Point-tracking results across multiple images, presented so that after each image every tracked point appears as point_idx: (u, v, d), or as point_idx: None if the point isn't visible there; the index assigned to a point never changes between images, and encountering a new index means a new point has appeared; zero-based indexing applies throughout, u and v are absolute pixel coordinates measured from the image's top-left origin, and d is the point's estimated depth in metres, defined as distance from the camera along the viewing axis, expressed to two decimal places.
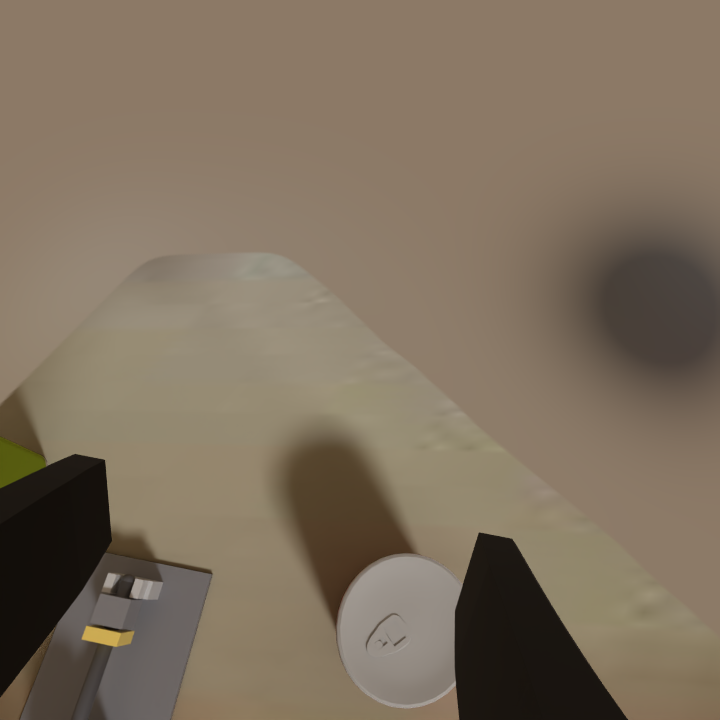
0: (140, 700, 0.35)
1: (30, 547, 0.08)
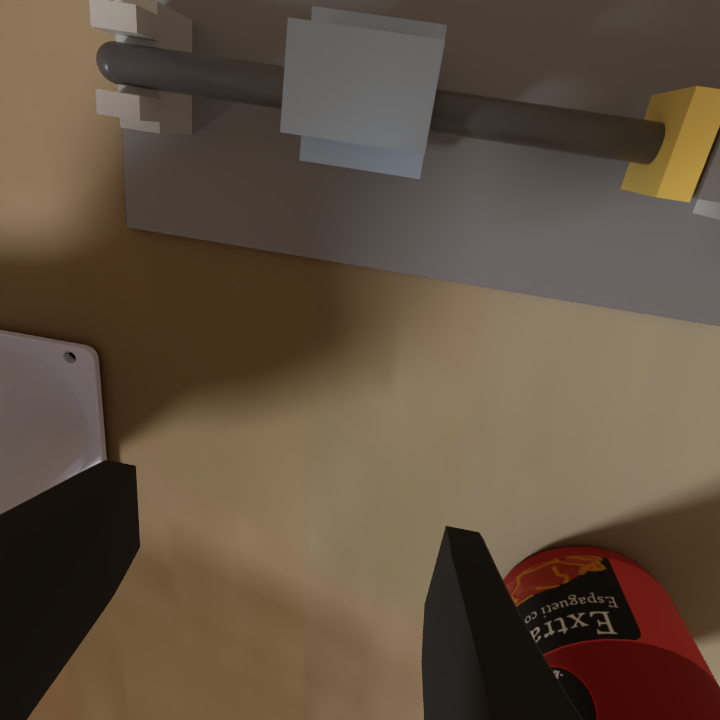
0: (485, 214, 0.16)
1: (67, 555, 0.08)
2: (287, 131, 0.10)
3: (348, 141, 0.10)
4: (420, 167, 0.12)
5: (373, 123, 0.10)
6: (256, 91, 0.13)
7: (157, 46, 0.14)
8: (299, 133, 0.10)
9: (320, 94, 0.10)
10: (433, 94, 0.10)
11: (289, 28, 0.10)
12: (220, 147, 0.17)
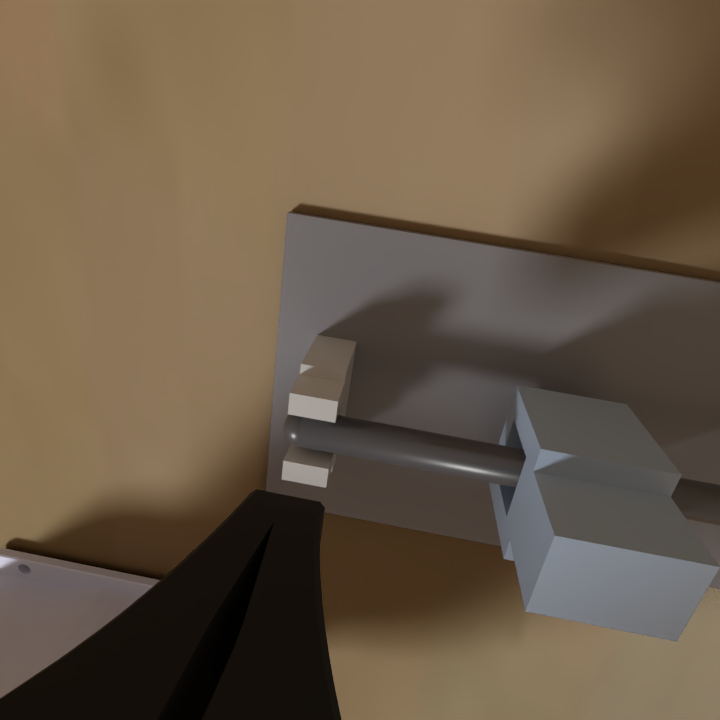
0: None
1: (250, 592, 0.08)
2: (533, 612, 0.10)
3: (596, 623, 0.10)
4: None
5: (627, 615, 0.10)
6: (451, 472, 0.13)
7: (340, 405, 0.14)
8: (546, 614, 0.10)
9: (575, 590, 0.10)
10: (696, 601, 0.10)
11: (554, 543, 0.09)
12: None
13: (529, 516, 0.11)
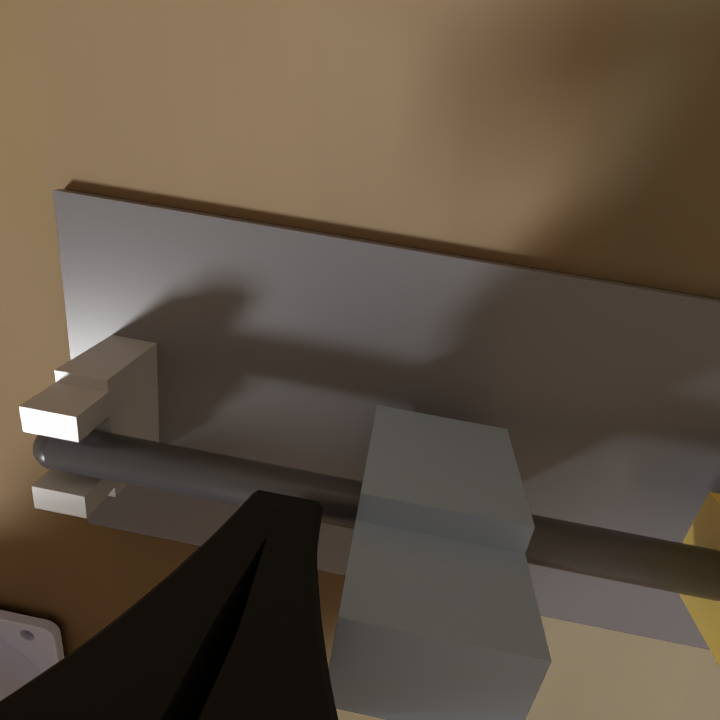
0: None
1: None
2: None
3: None
4: None
5: (446, 714, 0.08)
6: (227, 501, 0.11)
7: (109, 419, 0.11)
8: (347, 710, 0.08)
9: (377, 683, 0.08)
10: (529, 700, 0.07)
11: (339, 625, 0.07)
12: None
13: None
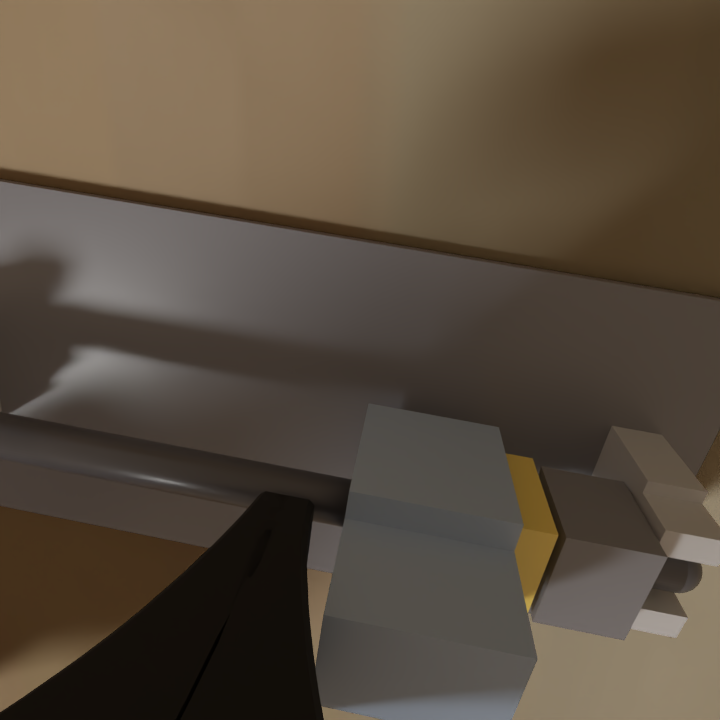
0: None
1: None
2: None
3: (399, 719, 0.08)
4: None
5: (434, 712, 0.08)
6: (16, 460, 0.11)
7: None
8: (335, 708, 0.08)
9: (364, 681, 0.08)
10: (516, 698, 0.07)
11: (325, 623, 0.07)
12: None
13: None
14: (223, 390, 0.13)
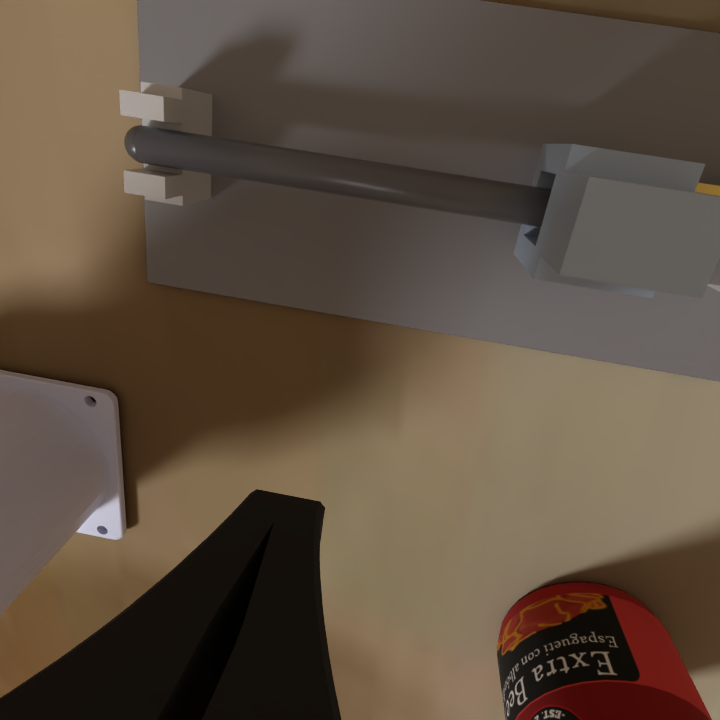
0: (491, 275, 0.17)
1: (250, 592, 0.08)
2: (567, 274, 0.11)
3: (626, 284, 0.11)
4: None
5: (655, 270, 0.11)
6: (276, 174, 0.14)
7: (181, 127, 0.14)
8: (579, 276, 0.11)
9: (607, 243, 0.10)
10: None
11: (589, 186, 0.10)
12: (238, 210, 0.17)
13: (561, 206, 0.12)
14: (407, 160, 0.16)
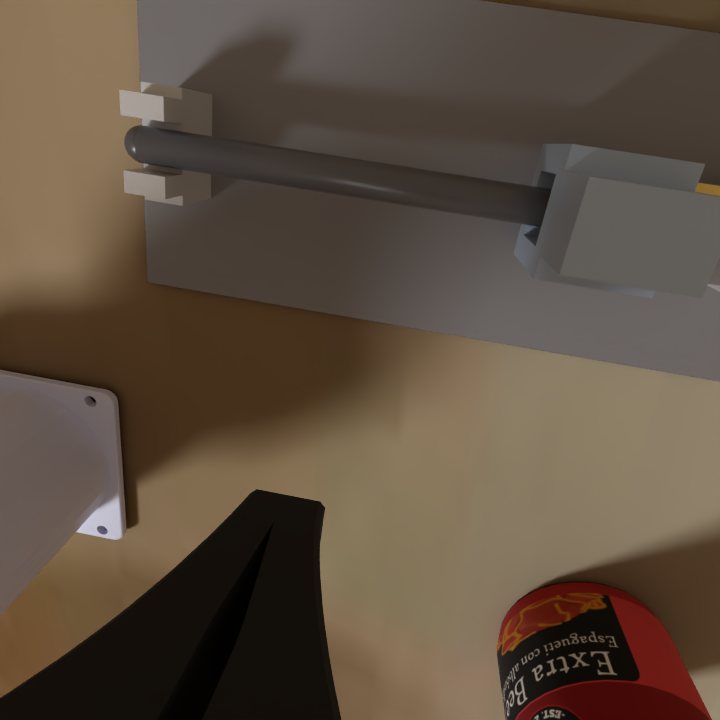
0: (491, 275, 0.17)
1: (250, 592, 0.08)
2: (567, 274, 0.11)
3: (626, 284, 0.11)
4: None
5: (655, 270, 0.11)
6: (276, 174, 0.14)
7: (181, 127, 0.14)
8: (579, 276, 0.11)
9: (607, 243, 0.10)
10: None
11: (589, 186, 0.10)
12: (238, 210, 0.17)
13: (561, 206, 0.12)
14: (407, 160, 0.16)
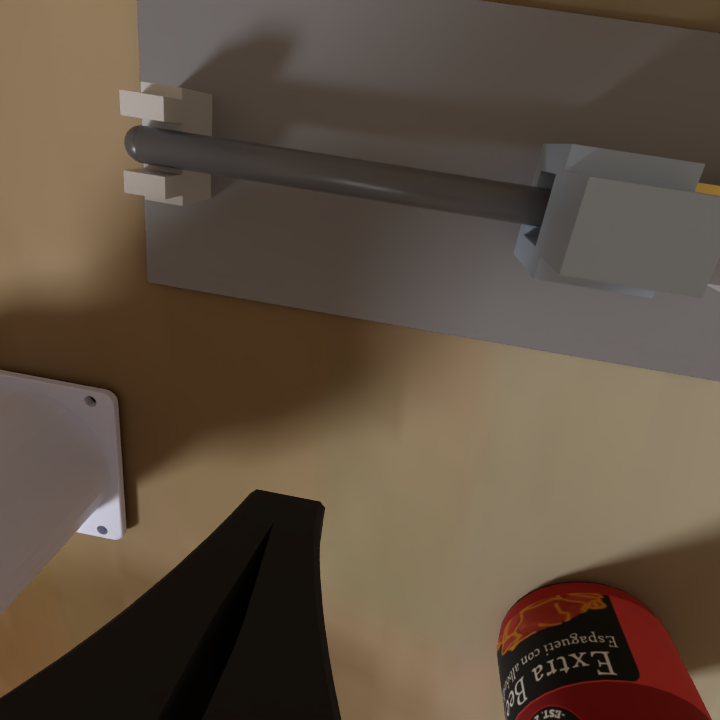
0: (491, 275, 0.17)
1: (250, 592, 0.08)
2: (567, 274, 0.11)
3: (626, 284, 0.11)
4: None
5: (655, 270, 0.11)
6: (276, 174, 0.14)
7: (181, 127, 0.14)
8: (579, 276, 0.11)
9: (607, 243, 0.10)
10: None
11: (589, 186, 0.10)
12: (238, 210, 0.17)
13: (561, 206, 0.12)
14: (407, 160, 0.16)
